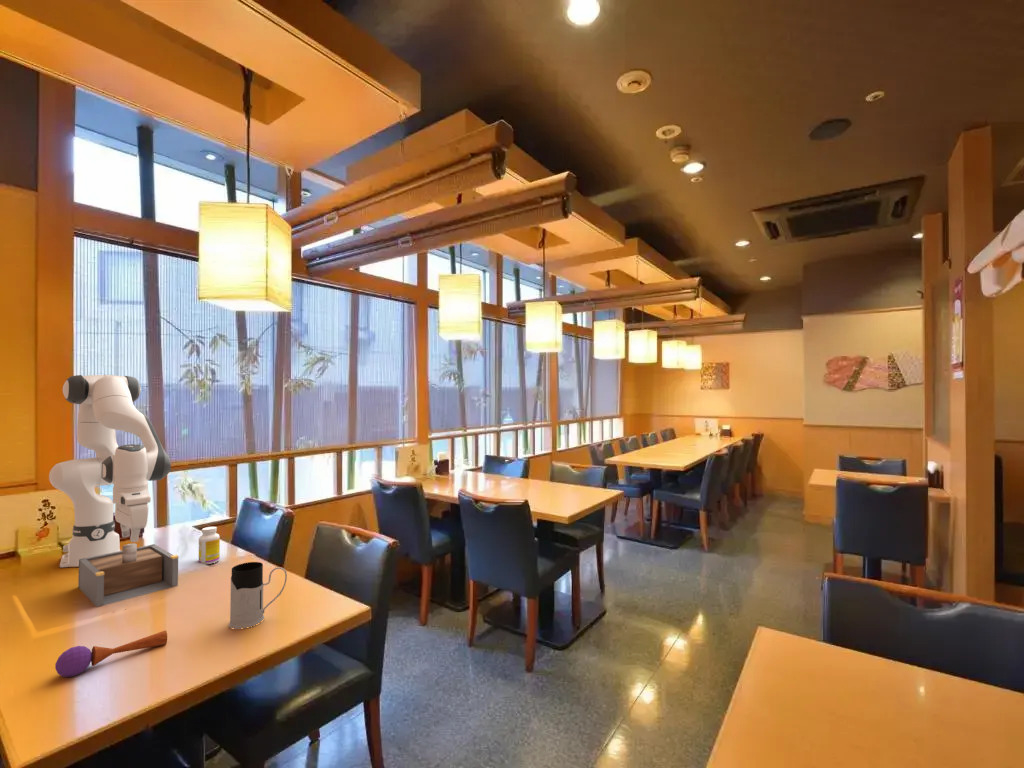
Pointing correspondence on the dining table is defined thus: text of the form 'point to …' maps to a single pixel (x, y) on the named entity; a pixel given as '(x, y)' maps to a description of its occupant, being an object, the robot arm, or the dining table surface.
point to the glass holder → (248, 594)
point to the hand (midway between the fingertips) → (130, 539)
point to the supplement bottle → (209, 546)
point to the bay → (94, 589)
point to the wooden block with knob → (129, 569)
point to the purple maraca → (100, 654)
